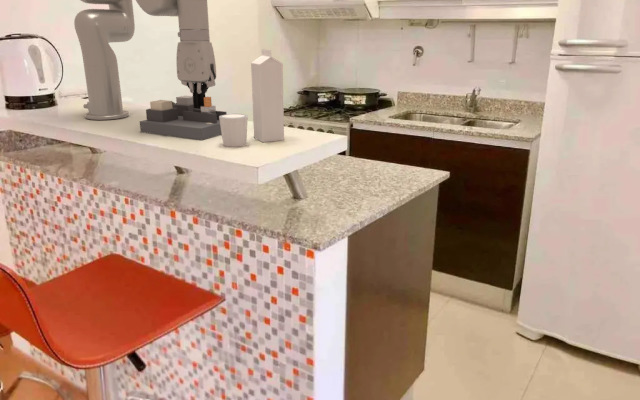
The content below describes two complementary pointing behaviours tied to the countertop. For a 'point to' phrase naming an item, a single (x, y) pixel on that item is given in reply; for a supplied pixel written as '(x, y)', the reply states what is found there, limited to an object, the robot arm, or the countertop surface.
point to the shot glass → (234, 129)
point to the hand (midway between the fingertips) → (199, 107)
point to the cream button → (161, 105)
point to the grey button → (184, 100)
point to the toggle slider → (208, 106)
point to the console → (182, 122)
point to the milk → (267, 98)
